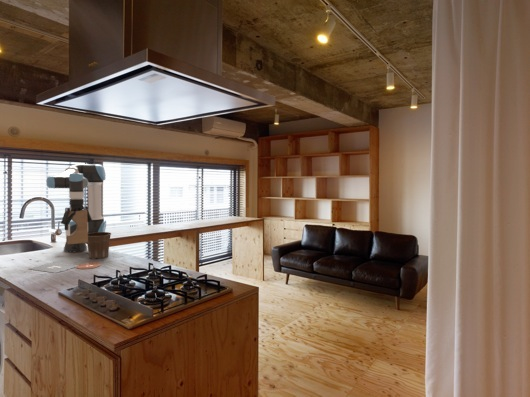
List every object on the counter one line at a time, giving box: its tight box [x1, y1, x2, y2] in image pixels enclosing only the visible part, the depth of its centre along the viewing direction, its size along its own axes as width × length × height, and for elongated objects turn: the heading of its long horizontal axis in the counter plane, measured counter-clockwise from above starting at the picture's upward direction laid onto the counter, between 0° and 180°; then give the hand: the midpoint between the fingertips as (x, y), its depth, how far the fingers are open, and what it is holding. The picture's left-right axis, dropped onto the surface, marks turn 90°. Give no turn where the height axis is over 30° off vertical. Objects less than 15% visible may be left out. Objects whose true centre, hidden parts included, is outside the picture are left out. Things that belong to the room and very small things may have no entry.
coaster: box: [75, 262, 101, 270], centre depth 205 cm, size 13×13×1 cm
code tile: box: [29, 262, 78, 274], centre depth 200 cm, size 16×22×1 cm
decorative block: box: [65, 210, 88, 244], centre depth 202 cm, size 11×6×20 cm, turn 124°
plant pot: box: [86, 231, 112, 260], centre depth 228 cm, size 16×16×16 cm
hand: (77, 233), depth 202 cm, fingers open, 12 cm apart
